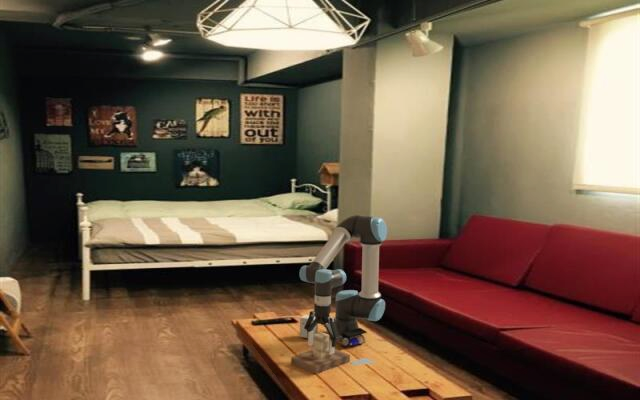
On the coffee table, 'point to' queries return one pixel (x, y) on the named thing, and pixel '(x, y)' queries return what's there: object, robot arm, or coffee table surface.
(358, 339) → the toy car
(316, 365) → the pocket board
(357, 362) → the pad
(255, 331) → the coffee table surface
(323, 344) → the beech block
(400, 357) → the coffee table surface
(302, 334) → the small box
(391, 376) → the coffee table surface
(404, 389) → the coffee table surface
